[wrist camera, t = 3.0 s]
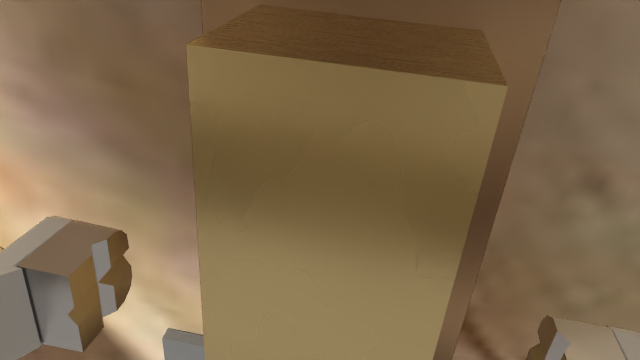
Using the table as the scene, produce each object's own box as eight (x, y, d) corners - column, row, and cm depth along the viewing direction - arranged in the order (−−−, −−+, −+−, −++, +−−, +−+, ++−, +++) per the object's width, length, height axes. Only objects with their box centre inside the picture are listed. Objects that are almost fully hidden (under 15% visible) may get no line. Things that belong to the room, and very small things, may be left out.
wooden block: (259, 4, 10) (186, 44, 7) (482, 30, 9) (508, 85, 6) (255, 296, 14) (207, 401, 11) (412, 327, 13) (408, 448, 10)
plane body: (272, -246, 12) (-116, -645, 3) (569, -232, 11) (1060, -729, 2) (261, 298, 21) (144, 569, 12) (426, 331, 20) (424, 648, 11)
